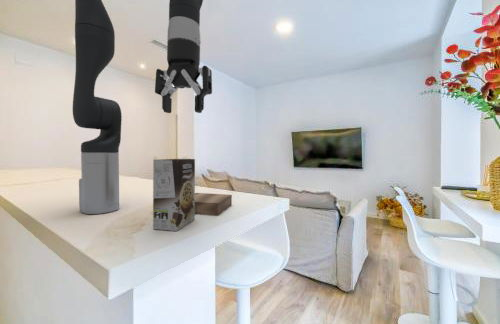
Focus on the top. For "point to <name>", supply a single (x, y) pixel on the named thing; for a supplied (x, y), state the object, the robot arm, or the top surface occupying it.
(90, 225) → the top surface
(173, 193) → the coffee box
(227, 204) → the walnut block
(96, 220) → the top surface
